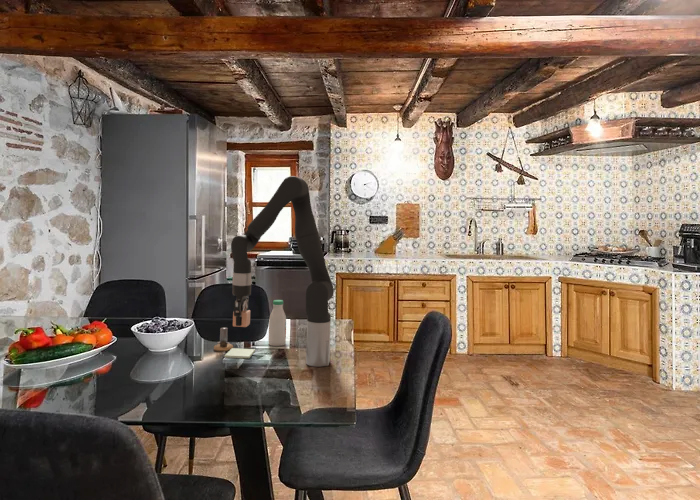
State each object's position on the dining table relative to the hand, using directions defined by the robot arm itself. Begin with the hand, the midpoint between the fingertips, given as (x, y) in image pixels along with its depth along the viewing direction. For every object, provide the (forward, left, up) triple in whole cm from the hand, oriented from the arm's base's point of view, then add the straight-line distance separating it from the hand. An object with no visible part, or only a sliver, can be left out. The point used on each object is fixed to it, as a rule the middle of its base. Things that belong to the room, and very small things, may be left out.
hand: (240, 323), depth 180 cm
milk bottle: (-12, -17, -13) cm, 25 cm away
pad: (0, 0, -13) cm, 13 cm away
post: (+9, -6, -13) cm, 17 cm away
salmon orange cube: (0, 0, 0) cm, 1 cm away
